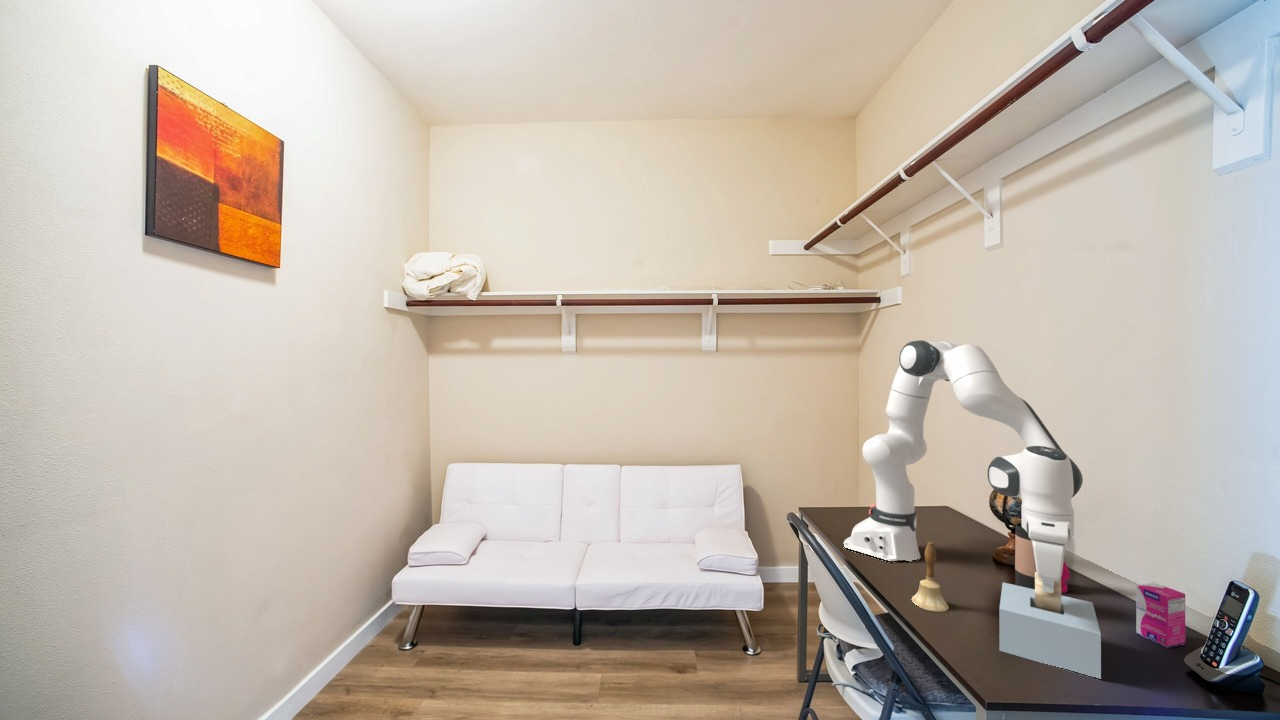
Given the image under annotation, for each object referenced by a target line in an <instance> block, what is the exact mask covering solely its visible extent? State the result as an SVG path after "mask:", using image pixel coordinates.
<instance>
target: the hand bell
mask: <svg viewBox="0 0 1280 720" xmlns="http://www.w3.org/2000/svg"><path fill="white" fill-rule="evenodd" d="M924 559H925V564H926V575H925V579H922V580H920V581H919V586H918V590H917V592H916V594H914V595H913V596H912V597H911V598H912V599H910V601H911V600H912V601H911V602H913V603H914V604H915V606H916V605H917V606H916V607H918V606H919V607H918V608H920V609H922V610H924V611H928V612H932V611H933V613H945V612H948V611H949V609H950V608H949V607H950V606H949V604H948V603H947V602H946V601H945V600H944V598H943V596H942V591H941V585H940V584H939V583H938V582H937V581H935V580H934V579H935V578H934V577H935V569H934V568H935V565H936V561H937V550H936V547H935V543H934V542H933V541H931V540H929V541H927V545H926V546H925V550H924ZM913 603H912V604H913ZM914 604H913V605H914Z"/></svg>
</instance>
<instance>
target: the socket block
mask: <svg viewBox="0 0 1280 720" xmlns="http://www.w3.org/2000/svg"><path fill="white" fill-rule="evenodd" d="M999 600H1000V602H999V613H998V614H999V622H998V624H999V627H998V628H999V636H998V638H999V648H998V649H999V650H998V651H1000V652H1003V653H1007V654H1009V655H1014V656H1017V657H1020V658H1023V659H1027V660H1031V661H1034V662H1038V663H1040V664H1043V663H1044V665H1047V664H1048V666H1050V665H1052V666H1051V667H1053V666H1056V667H1055V668H1057V667H1059V668H1058V669H1060V668H1064V669H1068V670H1071V671H1075V672H1078V673H1081V674H1085V675H1088V676H1092V677H1096V678H1099V679H1101V680H1102V643H1101V642H1102V634H1101V629H1100V625H1099V623H1098V618H1097V615H1096V614H1097V613H1096V610H1095V607H1094V603H1093V601H1088V600H1083V599H1080V598H1079V599H1078V598H1073V597H1070V596H1065V595H1061V614H1058V613H1054V612H1050V611H1046V610H1042V609H1038V608H1035V589H1030V588H1026V587H1021V586H1017V585H1016V584H1012V583H1007V582H1002V584H1001V594H1000V599H999ZM1064 669H1063V670H1064ZM1071 671H1070V672H1071ZM1081 674H1080V675H1081ZM1088 676H1087V677H1088Z"/></svg>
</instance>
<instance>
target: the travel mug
mask: <svg viewBox="0 0 1280 720" xmlns="http://www.w3.org/2000/svg"><path fill="white" fill-rule="evenodd" d="M1014 539H1015V543H1014V544H1015V545H1014V547H1015V548H1014V551H1015V553H1014V574H1015V585H1017V586H1021V587H1026V588H1030V589H1035V572H1037V570H1036V564H1035V558H1034V551H1033V545H1032V541H1031V538H1029V535H1028V533H1027V532H1026V530H1025V529H1024V528H1022V522H1017V523H1015V538H1014Z"/></svg>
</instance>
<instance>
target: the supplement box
mask: <svg viewBox="0 0 1280 720" xmlns="http://www.w3.org/2000/svg"><path fill="white" fill-rule="evenodd" d="M1135 587H1136V589H1135V590H1136V592H1135V595H1136V596H1135V597H1136V601H1135V604H1136V606H1135V607H1136V609H1135V611H1136V612H1135V613H1136V615H1135V616H1136V618H1135V619H1136V622H1135V623H1136V624H1135V625H1136V627H1135V629H1136V630H1135V631H1136V632H1135V633H1136V634H1135V635H1137V636H1139V637H1141V636H1142V638H1144V639H1146V638H1147V640H1148V639H1150V640H1152V641H1151V642H1153V641H1155V642H1157V643H1160V644H1162V645H1165V646H1167V647H1170V646H1175V645H1180V644H1185V645H1186V593H1184V592H1181V591H1178V590H1176V589H1172V588H1171V587H1168V586H1165V585H1162V584H1159V583H1157V582H1155V581H1153V582H1149V583H1143V584H1137V585H1136V586H1135ZM1150 640H1149V641H1150ZM1155 642H1154V643H1155ZM1157 643H1156V644H1157Z"/></svg>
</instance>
